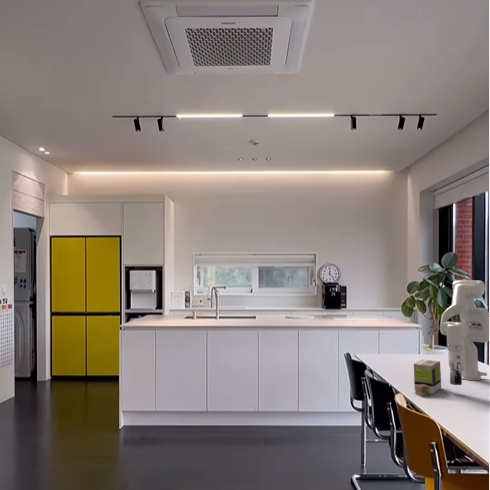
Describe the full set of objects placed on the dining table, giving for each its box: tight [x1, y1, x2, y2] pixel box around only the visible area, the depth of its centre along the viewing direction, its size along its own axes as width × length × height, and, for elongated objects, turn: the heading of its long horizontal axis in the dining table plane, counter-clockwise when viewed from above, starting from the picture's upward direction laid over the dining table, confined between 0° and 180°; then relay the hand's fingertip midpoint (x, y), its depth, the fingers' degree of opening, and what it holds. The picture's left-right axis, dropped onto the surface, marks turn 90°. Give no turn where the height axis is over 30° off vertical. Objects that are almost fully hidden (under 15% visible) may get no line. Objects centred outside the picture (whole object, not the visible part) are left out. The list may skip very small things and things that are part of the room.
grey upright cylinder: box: [449, 369, 463, 386], centre depth 243 cm, size 6×6×7 cm
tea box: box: [413, 359, 442, 394], centre depth 251 cm, size 15×10×15 cm, turn 141°
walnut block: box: [414, 384, 431, 398], centre depth 240 cm, size 5×5×5 cm
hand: (455, 381), depth 242 cm, fingers closed on grey upright cylinder, 5 cm apart
